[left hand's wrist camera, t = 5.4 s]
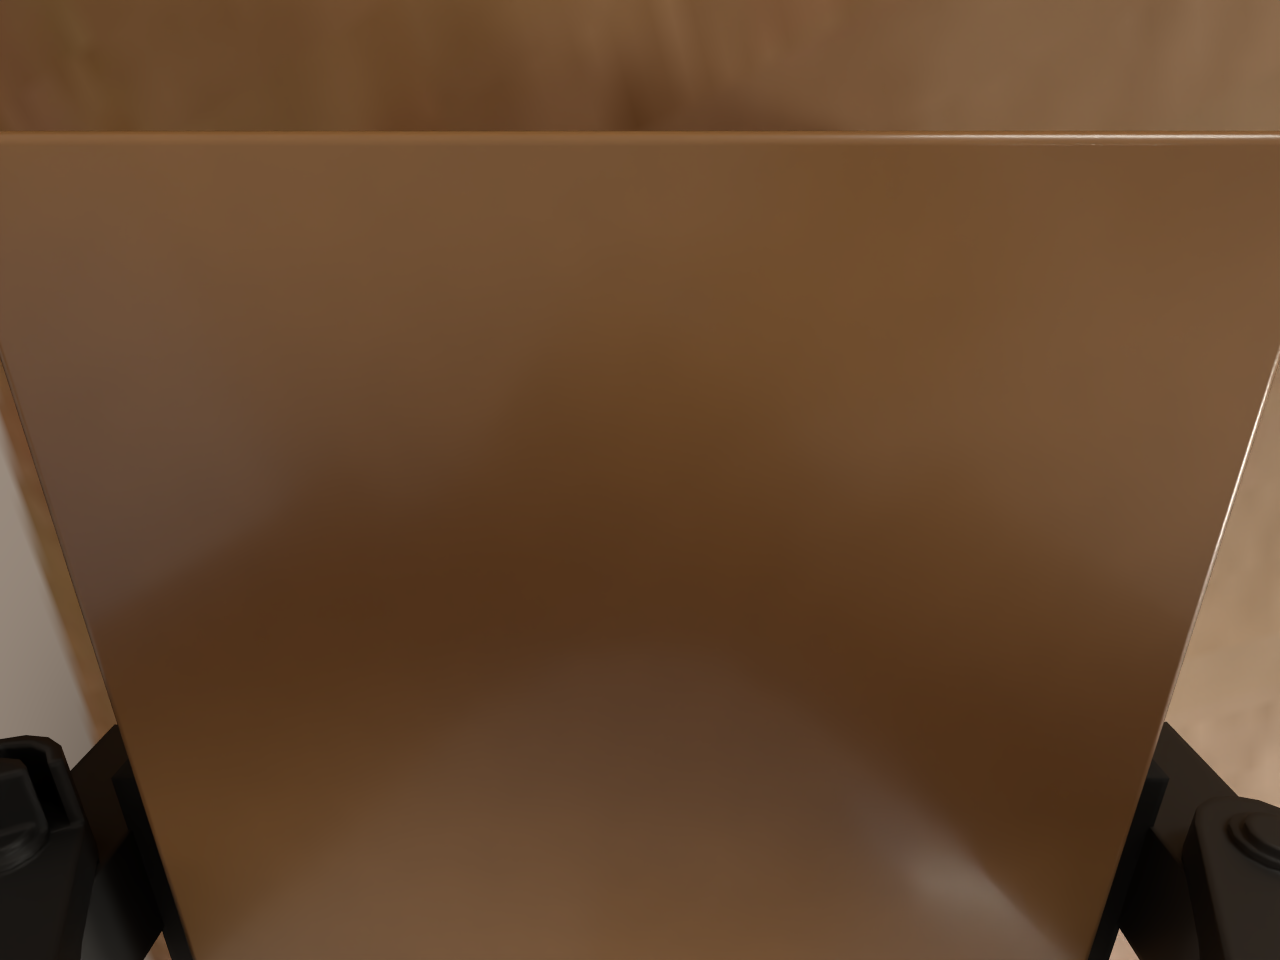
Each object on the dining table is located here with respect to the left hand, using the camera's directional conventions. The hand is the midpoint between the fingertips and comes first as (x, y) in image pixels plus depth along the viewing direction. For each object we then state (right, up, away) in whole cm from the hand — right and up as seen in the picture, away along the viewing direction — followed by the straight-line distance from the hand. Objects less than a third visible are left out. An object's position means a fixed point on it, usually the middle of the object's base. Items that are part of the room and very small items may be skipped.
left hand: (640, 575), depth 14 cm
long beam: (0, -23, +10) cm, 25 cm away
